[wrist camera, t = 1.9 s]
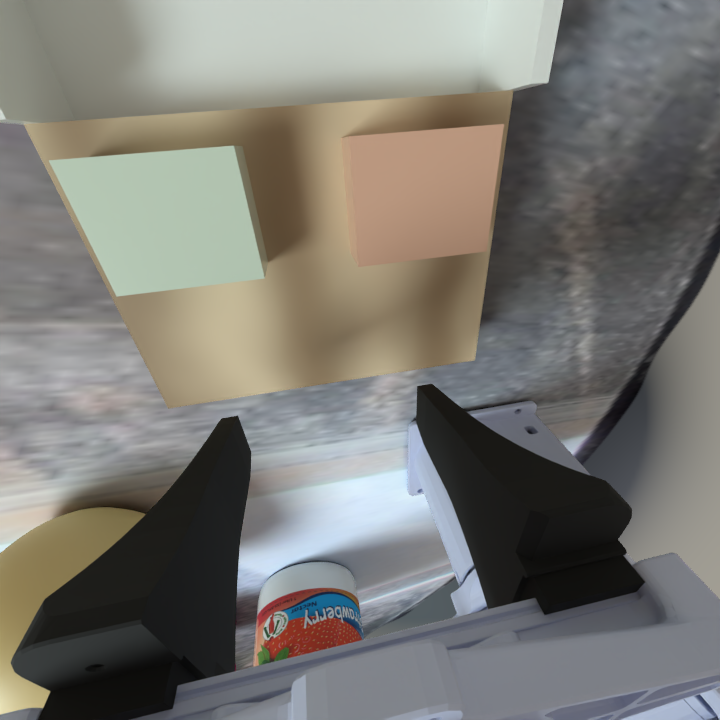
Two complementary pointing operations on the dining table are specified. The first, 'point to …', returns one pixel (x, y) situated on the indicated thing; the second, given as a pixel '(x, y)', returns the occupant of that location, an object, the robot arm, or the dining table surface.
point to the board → (295, 254)
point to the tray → (260, 53)
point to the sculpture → (47, 582)
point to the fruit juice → (306, 612)
